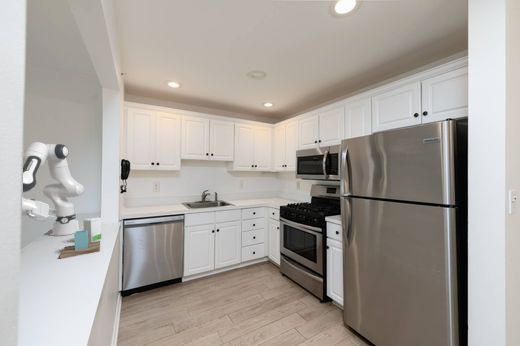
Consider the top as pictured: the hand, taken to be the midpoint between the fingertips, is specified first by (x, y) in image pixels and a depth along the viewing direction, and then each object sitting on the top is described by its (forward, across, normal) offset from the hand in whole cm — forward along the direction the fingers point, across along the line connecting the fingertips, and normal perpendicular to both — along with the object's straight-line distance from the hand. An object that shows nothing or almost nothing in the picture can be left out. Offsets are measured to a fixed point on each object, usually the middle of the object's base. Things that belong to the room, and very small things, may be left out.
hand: (56, 215), depth 136 cm
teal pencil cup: (+18, -13, +10) cm, 25 cm away
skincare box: (+27, +2, +12) cm, 30 cm away
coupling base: (+19, -13, +12) cm, 26 cm away
